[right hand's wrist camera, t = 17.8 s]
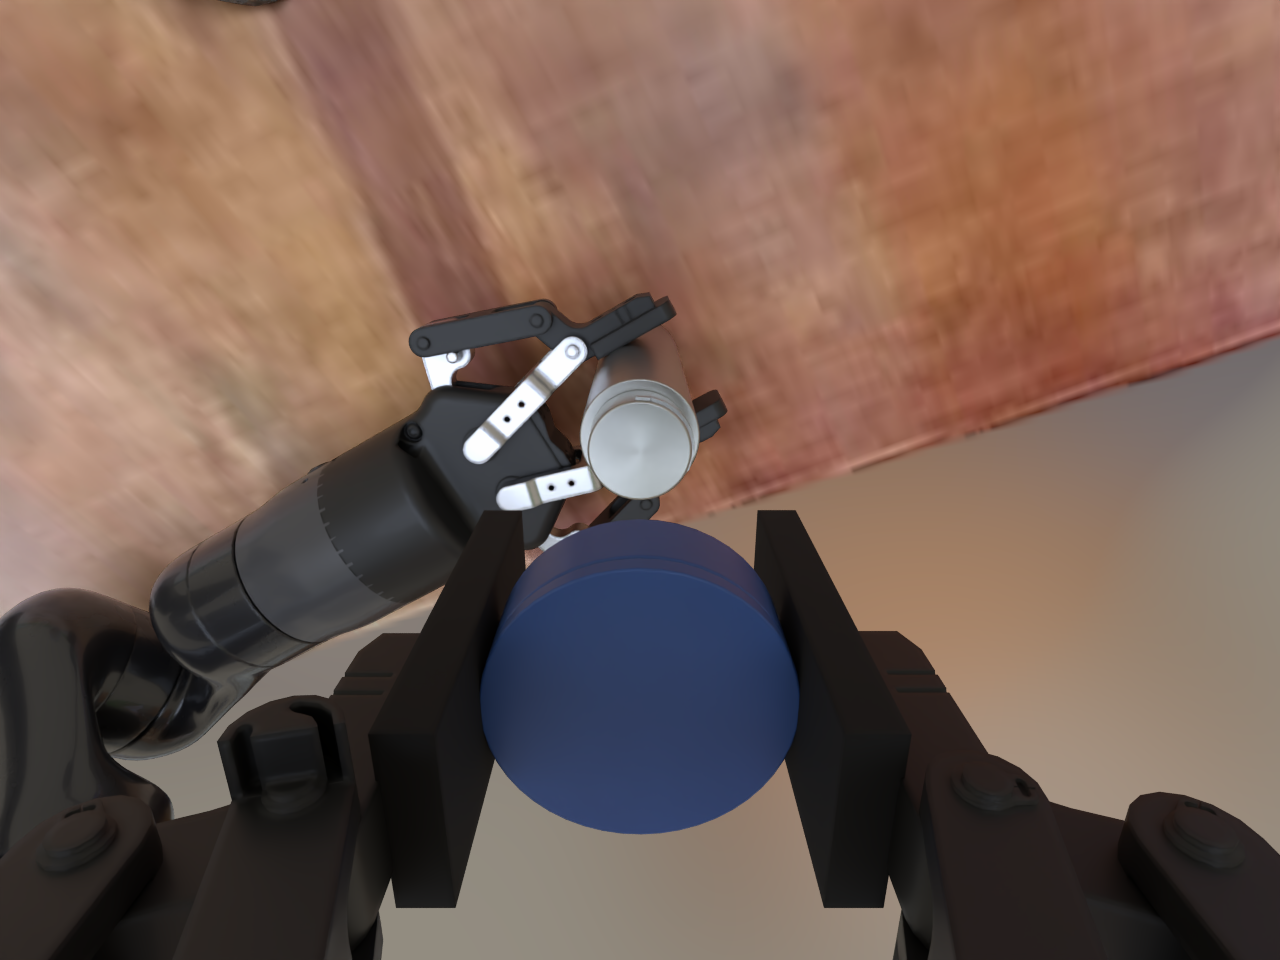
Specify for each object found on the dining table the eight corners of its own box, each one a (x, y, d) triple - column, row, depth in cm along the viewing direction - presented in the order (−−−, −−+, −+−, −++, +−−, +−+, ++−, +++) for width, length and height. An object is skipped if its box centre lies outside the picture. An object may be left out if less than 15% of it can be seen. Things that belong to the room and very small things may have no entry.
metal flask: (675, 398, 38) (697, 514, 23) (599, 393, 38) (573, 507, 23) (681, 321, 36) (709, 393, 22) (602, 316, 36) (577, 385, 22)
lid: (666, 460, 11) (670, 503, 9) (832, 665, 12) (862, 735, 11) (442, 624, 12) (410, 689, 10) (617, 797, 13) (614, 880, 12)
